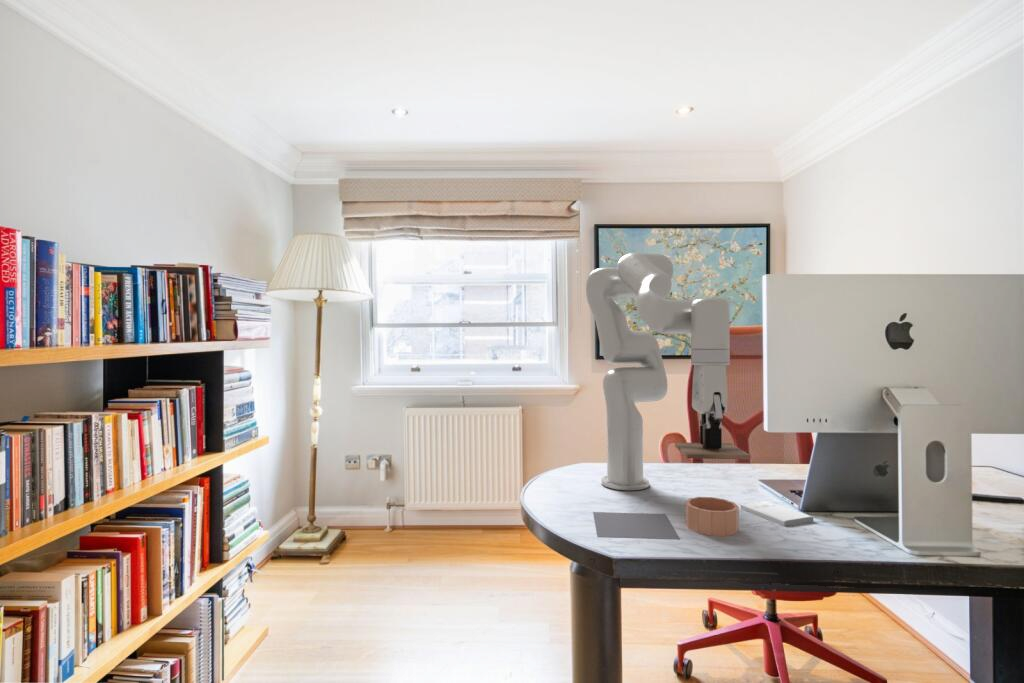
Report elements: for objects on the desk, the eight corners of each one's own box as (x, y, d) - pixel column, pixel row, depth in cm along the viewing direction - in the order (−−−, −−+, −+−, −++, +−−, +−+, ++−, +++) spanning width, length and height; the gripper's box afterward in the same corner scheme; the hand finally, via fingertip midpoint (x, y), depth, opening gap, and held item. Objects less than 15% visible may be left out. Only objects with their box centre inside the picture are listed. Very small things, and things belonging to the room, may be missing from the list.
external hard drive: (784, 528, 111) (740, 510, 123) (813, 523, 114) (767, 506, 125) (784, 520, 111) (740, 503, 123) (813, 516, 114) (767, 499, 125)
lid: (674, 446, 116) (674, 419, 116) (731, 446, 115) (731, 420, 115) (687, 458, 105) (687, 429, 104) (750, 459, 103) (750, 429, 103)
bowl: (681, 519, 115) (681, 496, 115) (729, 520, 114) (729, 497, 114) (693, 536, 105) (692, 511, 105) (745, 537, 105) (744, 512, 104)
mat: (593, 513, 120) (593, 512, 120) (665, 515, 118) (665, 513, 118) (597, 538, 105) (597, 536, 105) (680, 540, 103) (680, 539, 103)
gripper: (682, 356, 118) (683, 438, 118) (701, 359, 102) (702, 454, 102) (717, 356, 118) (717, 439, 118) (742, 359, 101) (742, 455, 101)
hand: (710, 445), depth 110 cm, fingers closed on lid, 3 cm apart
